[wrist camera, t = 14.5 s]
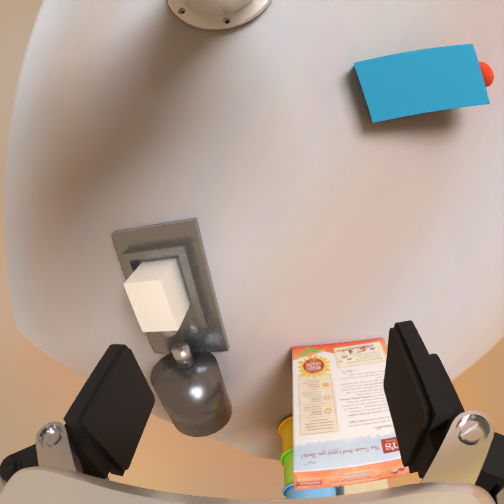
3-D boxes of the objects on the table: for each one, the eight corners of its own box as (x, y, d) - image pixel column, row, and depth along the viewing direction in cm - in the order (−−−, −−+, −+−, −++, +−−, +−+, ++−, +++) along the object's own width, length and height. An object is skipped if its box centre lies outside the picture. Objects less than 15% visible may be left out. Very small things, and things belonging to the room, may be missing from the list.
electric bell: (114, 231, 40) (75, 263, 31) (196, 217, 39) (170, 249, 29) (175, 390, 52) (160, 434, 43) (241, 390, 50) (234, 437, 41)
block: (142, 262, 41) (123, 283, 35) (176, 257, 40) (160, 279, 34) (162, 318, 44) (147, 344, 39) (194, 316, 43) (182, 343, 38)
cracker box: (293, 373, 48) (292, 492, 28) (291, 344, 45) (290, 471, 26) (379, 365, 46) (409, 477, 27) (384, 336, 43) (423, 453, 24)
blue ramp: (371, 118, 36) (494, 99, 28) (372, 122, 30) (515, 101, 22) (355, 68, 34) (480, 49, 26) (353, 63, 28) (498, 42, 20)
